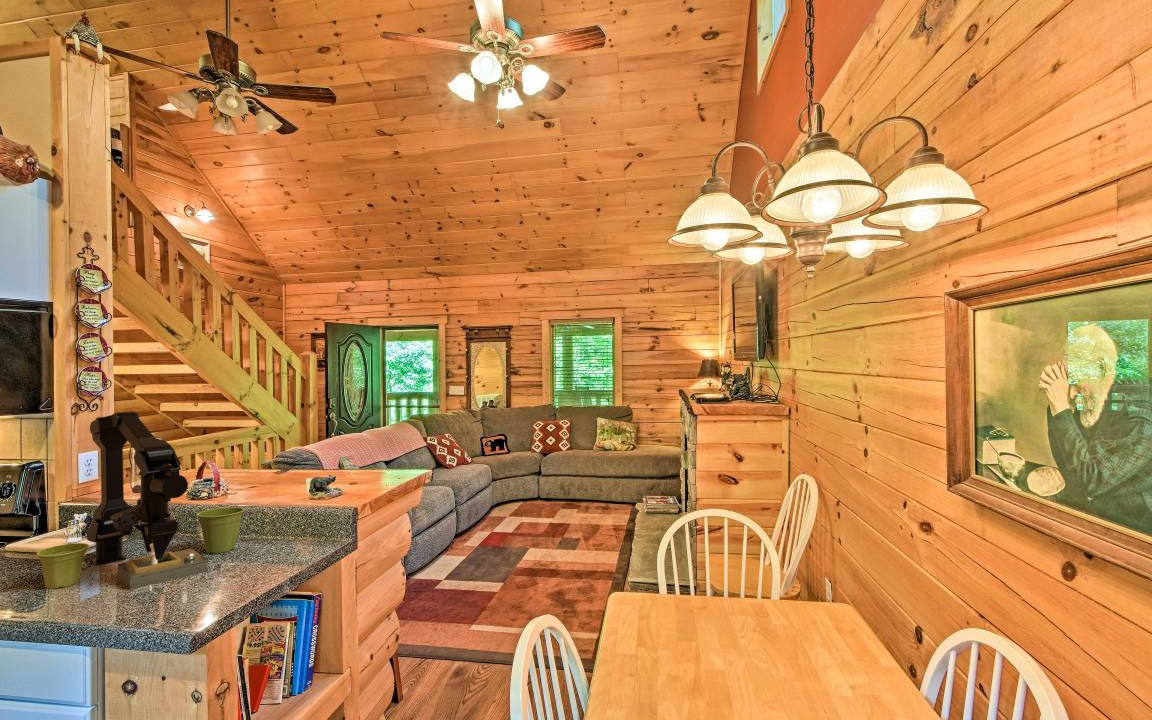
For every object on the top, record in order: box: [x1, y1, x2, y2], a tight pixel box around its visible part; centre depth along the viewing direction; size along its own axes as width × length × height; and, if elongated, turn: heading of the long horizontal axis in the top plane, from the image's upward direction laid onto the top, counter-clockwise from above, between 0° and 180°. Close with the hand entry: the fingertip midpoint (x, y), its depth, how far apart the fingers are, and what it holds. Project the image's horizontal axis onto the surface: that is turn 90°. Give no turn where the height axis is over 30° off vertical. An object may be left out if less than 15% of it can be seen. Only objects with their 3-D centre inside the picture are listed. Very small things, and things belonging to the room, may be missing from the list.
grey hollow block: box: [117, 548, 209, 590], centre depth 142 cm, size 14×16×5 cm
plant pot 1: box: [36, 542, 90, 590], centre depth 135 cm, size 9×9×9 cm
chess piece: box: [149, 543, 158, 565], centre depth 141 cm, size 5×5×10 cm
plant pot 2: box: [196, 506, 246, 554], centre depth 161 cm, size 12×12×11 cm
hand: (153, 555), depth 141 cm, fingers open, 9 cm apart
